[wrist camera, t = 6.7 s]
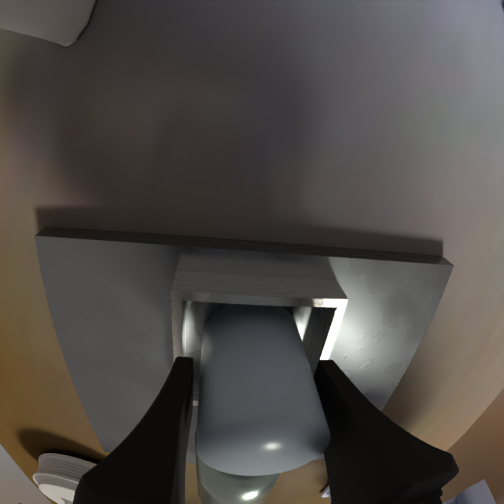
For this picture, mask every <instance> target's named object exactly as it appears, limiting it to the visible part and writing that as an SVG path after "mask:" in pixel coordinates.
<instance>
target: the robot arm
mask: <svg viewBox="0 0 504 504" xmlns="http://www.w3.org/2000/svg"><path fill="white" fill-rule="evenodd" d="M313 378H314V382H315V385H316V388H317V392H318V395H319V398H320V401H321V405H322V408H323V411H324V415H325V418H326V421H327V425H328V428H329V432H330V436H331V437H330V442H329V445H328V446H327V448H326V449H325V450H324V452H323V453H324V458H325V462H326V468H327V474H328V481H329V485H328V487H327V488H326V489H325V490H324V491H323V492H322V493H321V497H329V498H330V502H331V504H496V503H495V501H494V499H493V497H492V494H491V492H490V490H489V488H488V486H487V484H486V482H485V480H482V481H480V482H478V483H476V484H474V485H472V486H470V487H469V488H467V489H465V490H464V491H462V492H461V493H460V494H458V495H457V496H456V497H455V498H453V499H451V500H449V501H446V502H444V503H442V502H441V499H440V496H441V495H442V494H443V493H442V490H441V488H442V487H443V486H444V485H445V484H447V483H448V482H449V481H450V480H451V479H453V478H454V477H455V476H456V474H457V473H458V471H459V468H458V466H457V464H456V462H455V460H454V458H453V456H452V454H450V453H448V452H445V451H443V450H440V449H438V448H436V447H433V446H431V445H429V444H427V443H425V442H423V441H422V440H420V439H418V438H416V437H415V436H413V435H411V434H410V433H408V432H407V431H405V430H404V429H402V428H401V427H399V426H398V425H397V424H395V423H394V422H393V421H392V420H390V419H389V418H388V417H387V416H385V415H384V414H383V413H382V412H381V411H380V410H378V409H377V408H376V407H375V406H374V405H373V404H372V403H371V402H370V401H369V400H368V399H367V398H366V397H365V396H364V395H363V394H362V393H361V392H360V390H359V389H358V388H357V387H356V386H355V385H354V384H353V383H352V382H351V380H350V379H349V378H348V377H347V376H346V375H345V373H344V372H343V371H342V370H341V369H340V368H339V366H338V365H337V364H336V363H335V362H334V361H333V360H319V362H318V365H317V368H316V370H315V373H314V376H313ZM193 394H194V375H193V357H182V356H178V357H176V358H175V361H174V364H173V366H172V369H171V371H170V373H169V375H168V377H167V379H166V381H165V383H164V385H163V387H162V388H161V390H160V392H159V394H158V395H157V397H156V399H155V400H154V402H153V403H152V405H151V406H150V408H149V409H148V411H147V412H146V414H145V415H144V416H143V418H142V419H141V420H140V422H139V423H138V424H137V425H136V427H135V428H134V429H133V430H132V431H131V432H130V434H129V435H128V436H127V437H126V438H125V439H124V440H123V441H122V442H121V443H120V444H119V445H118V446H117V447H116V448H115V449H114V450H113V451H112V452H111V453H110V454H109V455H108V456H106V457H105V458H104V459H103V460H102V461H101V462H99V463H98V464H97V465H96V466H94V467H93V468H92V469H90V470H89V471H88V472H86V473H85V474H83V475H82V477H81V479H80V481H79V483H78V485H77V488H76V490H75V494H74V499H73V504H185V463H186V454H187V447H188V440H189V433H190V426H191V420H192V413H193ZM19 504H21V503H19Z"/></svg>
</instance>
